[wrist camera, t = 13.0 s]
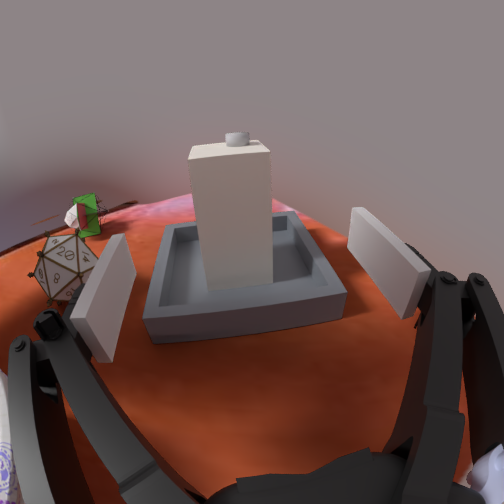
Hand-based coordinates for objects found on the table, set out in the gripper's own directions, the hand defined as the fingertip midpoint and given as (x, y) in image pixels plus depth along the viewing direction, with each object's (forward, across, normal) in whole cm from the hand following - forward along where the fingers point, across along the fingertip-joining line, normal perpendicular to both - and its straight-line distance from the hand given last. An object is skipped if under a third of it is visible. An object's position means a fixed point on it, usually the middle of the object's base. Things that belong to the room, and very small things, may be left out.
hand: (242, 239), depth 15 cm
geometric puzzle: (+26, -23, -10) cm, 36 cm away
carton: (+10, 0, -9) cm, 13 cm away
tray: (+10, 0, -10) cm, 14 cm away
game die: (+9, -18, -10) cm, 22 cm away
